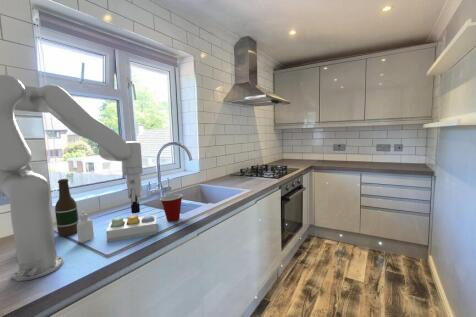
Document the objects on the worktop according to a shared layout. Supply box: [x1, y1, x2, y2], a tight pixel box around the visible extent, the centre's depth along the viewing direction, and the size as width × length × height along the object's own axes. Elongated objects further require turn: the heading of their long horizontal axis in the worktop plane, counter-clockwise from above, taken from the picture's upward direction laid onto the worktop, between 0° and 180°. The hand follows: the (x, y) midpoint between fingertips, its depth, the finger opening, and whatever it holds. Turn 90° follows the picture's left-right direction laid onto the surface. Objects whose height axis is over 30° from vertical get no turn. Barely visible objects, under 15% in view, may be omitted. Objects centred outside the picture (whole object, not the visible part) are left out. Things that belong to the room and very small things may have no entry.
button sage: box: [111, 216, 124, 227], centre depth 101 cm, size 4×4×4 cm
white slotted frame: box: [105, 214, 158, 243], centre depth 104 cm, size 12×19×4 cm, turn 110°
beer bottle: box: [54, 178, 80, 238], centre depth 104 cm, size 8×8×24 cm
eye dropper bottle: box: [76, 210, 95, 243], centre depth 97 cm, size 4×6×12 cm
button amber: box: [126, 214, 139, 225], centre depth 103 cm, size 4×4×4 cm
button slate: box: [142, 215, 153, 223], centre depth 106 cm, size 4×4×4 cm
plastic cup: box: [159, 193, 183, 223], centre depth 116 cm, size 11×11×12 cm
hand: (135, 212), depth 103 cm, fingers closed
